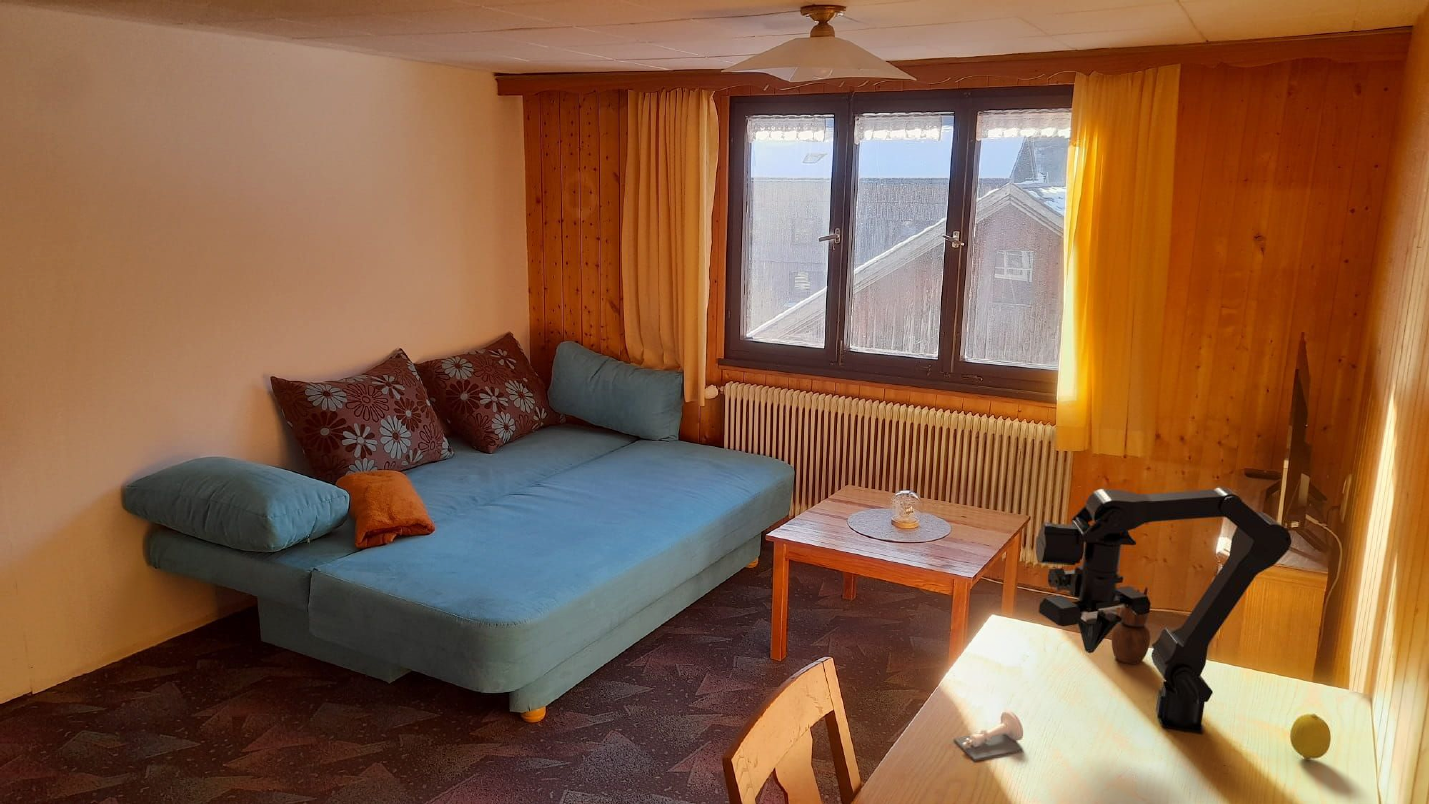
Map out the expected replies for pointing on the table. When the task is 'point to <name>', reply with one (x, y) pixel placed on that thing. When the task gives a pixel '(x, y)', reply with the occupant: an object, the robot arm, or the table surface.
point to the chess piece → (999, 730)
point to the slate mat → (990, 747)
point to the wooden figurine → (1131, 636)
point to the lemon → (1310, 736)
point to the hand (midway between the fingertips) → (1089, 651)
